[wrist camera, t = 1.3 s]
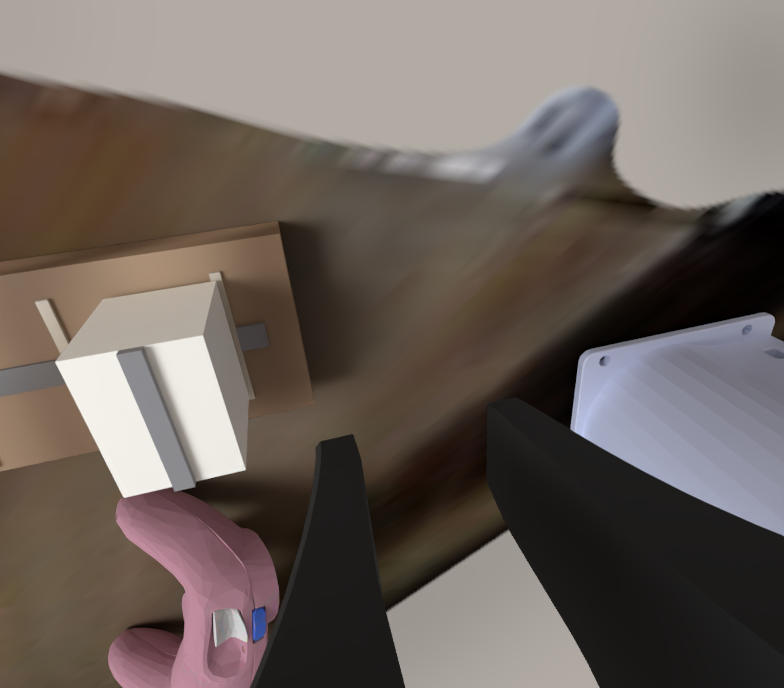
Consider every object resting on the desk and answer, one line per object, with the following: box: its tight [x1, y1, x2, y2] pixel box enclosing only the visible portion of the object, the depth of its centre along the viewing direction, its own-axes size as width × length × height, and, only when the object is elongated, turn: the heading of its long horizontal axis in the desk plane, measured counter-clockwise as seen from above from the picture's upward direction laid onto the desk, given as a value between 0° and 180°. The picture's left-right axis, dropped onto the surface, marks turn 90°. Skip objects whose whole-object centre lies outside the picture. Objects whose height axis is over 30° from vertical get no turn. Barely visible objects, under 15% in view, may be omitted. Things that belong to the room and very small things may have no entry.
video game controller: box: [108, 488, 279, 688], centre depth 18 cm, size 10×5×7 cm, turn 164°
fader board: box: [0, 221, 315, 471], centre depth 15 cm, size 13×6×2 cm, turn 95°
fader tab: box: [55, 281, 249, 498], centre depth 13 cm, size 3×4×4 cm
